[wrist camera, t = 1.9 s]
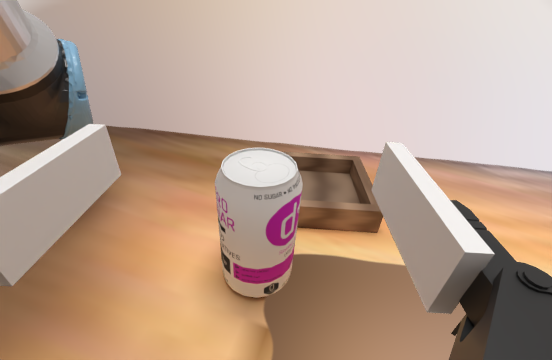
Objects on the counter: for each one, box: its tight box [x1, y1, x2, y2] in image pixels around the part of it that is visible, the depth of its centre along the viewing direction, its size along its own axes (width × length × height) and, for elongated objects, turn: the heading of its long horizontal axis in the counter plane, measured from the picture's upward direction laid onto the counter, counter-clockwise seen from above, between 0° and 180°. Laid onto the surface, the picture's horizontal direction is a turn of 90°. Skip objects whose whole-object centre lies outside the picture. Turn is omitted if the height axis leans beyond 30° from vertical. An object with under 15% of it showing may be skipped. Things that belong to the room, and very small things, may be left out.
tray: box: [283, 152, 383, 232], centre depth 45 cm, size 16×16×4 cm
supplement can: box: [215, 148, 303, 298], centre depth 29 cm, size 8×8×15 cm
